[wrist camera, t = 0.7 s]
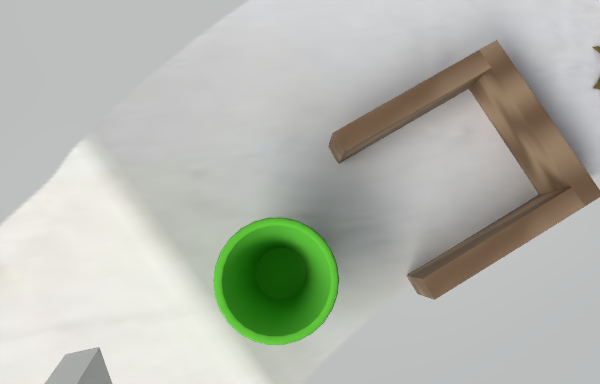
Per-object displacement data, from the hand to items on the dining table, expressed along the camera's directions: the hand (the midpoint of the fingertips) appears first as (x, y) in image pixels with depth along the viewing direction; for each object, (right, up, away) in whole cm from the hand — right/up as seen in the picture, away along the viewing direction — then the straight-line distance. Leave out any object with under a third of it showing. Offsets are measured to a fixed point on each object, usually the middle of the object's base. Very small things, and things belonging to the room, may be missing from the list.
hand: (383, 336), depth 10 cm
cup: (-4, -4, +31) cm, 32 cm away
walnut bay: (+13, +6, +33) cm, 36 cm away
